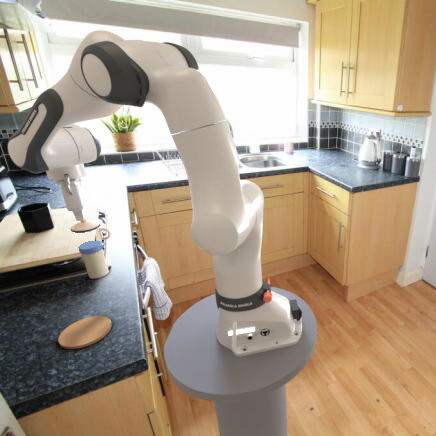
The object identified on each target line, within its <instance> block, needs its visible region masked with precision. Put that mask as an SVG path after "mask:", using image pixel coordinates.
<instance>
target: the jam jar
mask: <svg viewBox="0 0 436 436" xmlns="http://www.w3.org/2000/svg"><path fill="white" fill-rule="evenodd" d="M81 257H82V260H83V264H84V266H85V269H86V272H87V275H88V278H89V279H100V278H104V277H105V276H107V275H108V274H109V273H110V270H109V267H108V263H107V260H106V256H105V252H104V250H103V248H102V249H101V250H100V251H98V252H95V253H92V254H81Z"/></svg>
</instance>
